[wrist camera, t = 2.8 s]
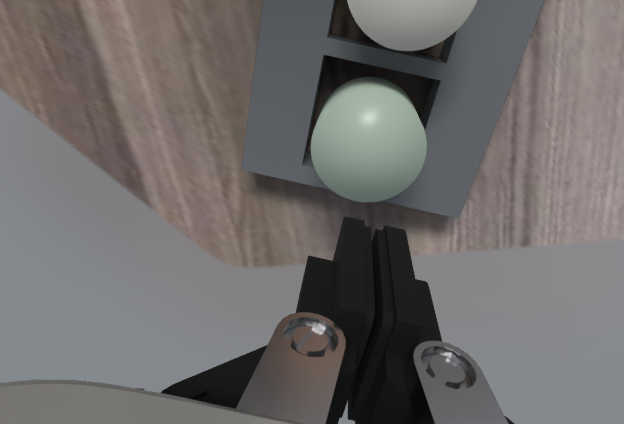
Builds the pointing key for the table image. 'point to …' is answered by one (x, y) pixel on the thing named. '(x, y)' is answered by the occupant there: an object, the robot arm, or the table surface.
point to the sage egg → (368, 140)
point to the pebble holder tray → (444, 71)
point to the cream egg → (410, 21)
